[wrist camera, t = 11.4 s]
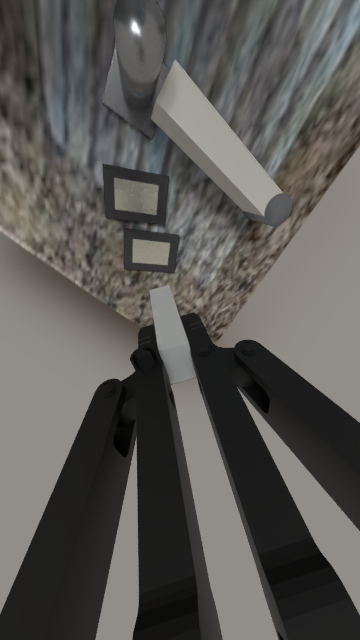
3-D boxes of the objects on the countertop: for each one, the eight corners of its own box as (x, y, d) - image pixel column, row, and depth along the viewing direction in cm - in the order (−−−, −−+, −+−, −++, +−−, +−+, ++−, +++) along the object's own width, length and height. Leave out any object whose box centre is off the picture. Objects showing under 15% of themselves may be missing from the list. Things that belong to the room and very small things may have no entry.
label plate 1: (106, 216, 24) (105, 217, 23) (103, 164, 21) (102, 163, 21) (163, 224, 26) (164, 225, 25) (168, 176, 23) (169, 176, 22)
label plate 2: (124, 267, 28) (123, 268, 27) (123, 228, 25) (123, 229, 24) (173, 270, 29) (174, 272, 29) (178, 234, 27) (179, 235, 26)
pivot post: (102, 104, 19) (83, 55, 11) (120, 30, 17) (110, -88, 9) (151, 139, 21) (161, 117, 14) (173, 77, 19) (198, 11, 11)
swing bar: (149, 121, 19) (153, 104, 15) (167, 84, 17) (177, 54, 13) (253, 224, 26) (275, 232, 22) (270, 202, 25) (297, 206, 21)
